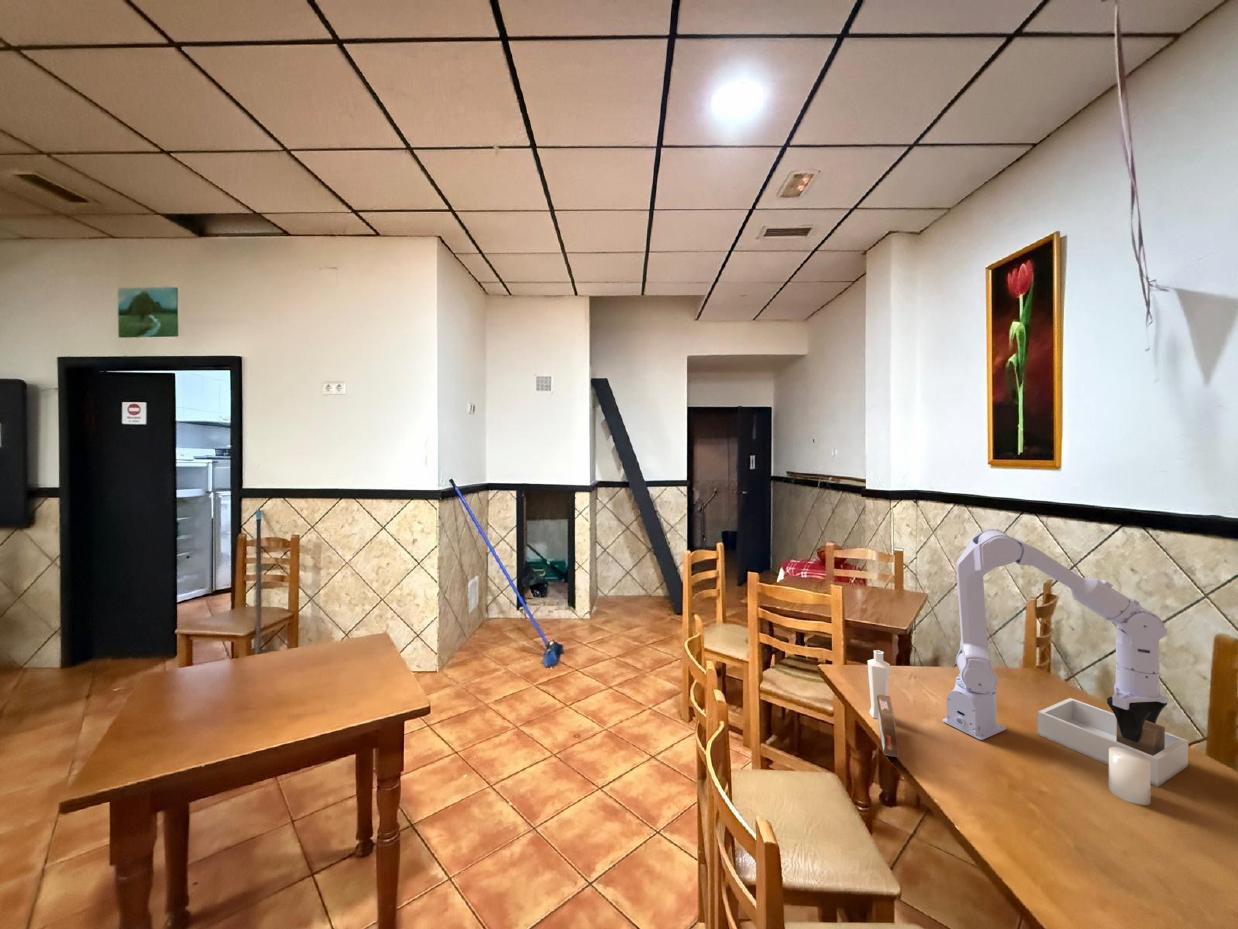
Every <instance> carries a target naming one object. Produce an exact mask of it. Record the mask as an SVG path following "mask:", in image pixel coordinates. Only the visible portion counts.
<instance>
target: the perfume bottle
mask: <svg viewBox="0 0 1238 929" xmlns="http://www.w3.org/2000/svg"><path fill="white" fill-rule="evenodd" d="M884 653H885V652H884V651H881V650H879V649H878V650H873V658H872V659H869V660H867V670H868V671H867V672H868V685H869V698H870V706H871V707H870V710H869V714H870V716H871V718H873V719H877V720H879V719H878V712H879V709H878V701H877V695H885V696H889V695H888V694H889V682H890V666H891V665H890V663H888V662H886V661H885V660H884Z"/></svg>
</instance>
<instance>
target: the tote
mask: <svg viewBox="0 0 1238 929" xmlns="http://www.w3.org/2000/svg"><path fill="white" fill-rule="evenodd" d="M1037 735H1038V736H1040V737H1042V738H1044V739H1047V740H1050V741H1052V742H1054V743H1056V744H1058V745H1061V746H1063V747H1065V748H1068V749H1070V750H1073V751H1075V752H1077V753H1079V754H1080V755H1081V754H1082V755H1083V756H1085V757H1088V758H1090V759H1093V760H1095V761H1098V762H1099V763H1102V764H1104V765H1106V766H1108V767H1109V748H1111V747H1120V748H1125V749H1129V750H1132V751H1134V752H1137V753H1139V754H1141V755H1143V756H1145V757H1146V758H1148V759H1149V760H1150V762H1151V785H1152V786H1154V787H1157V788H1159V787H1160V786H1161V785H1163V784H1165V783H1166V782H1167V781H1168V780H1170V779H1171V778H1173V777H1174V776H1176V775H1177V774H1179V773H1180V772H1181V771H1183V770H1184V769H1186V768H1188V766H1189V740H1188V739H1186V738H1182V737H1179V736H1177V735H1174V734H1171V733H1168V732H1167V731H1165V749H1164V750H1162V751H1160V752H1159V753H1157V754H1156V755H1154V756H1152V755H1149V754H1147V753H1144V752H1142V751H1139V750H1137V749H1134V748H1132V747H1129V746H1127V745H1124V744H1122V743H1119V742H1117V741H1116V737H1117V719H1116V717H1115V715H1114V713H1113V712H1111V711H1108V710H1105V709H1102V708H1100V707H1097V706H1094V705H1091V704H1089V703H1086V702H1083V701H1080V700H1077V699H1075V698H1072V697H1068V698H1067V699H1064V700H1062V701H1059V702H1057V703H1055V704H1053V705H1050V706H1047V707H1046V708H1043V709H1041V710H1038V711H1037Z"/></svg>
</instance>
